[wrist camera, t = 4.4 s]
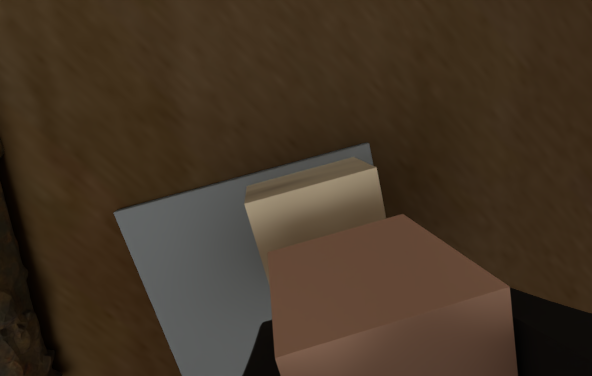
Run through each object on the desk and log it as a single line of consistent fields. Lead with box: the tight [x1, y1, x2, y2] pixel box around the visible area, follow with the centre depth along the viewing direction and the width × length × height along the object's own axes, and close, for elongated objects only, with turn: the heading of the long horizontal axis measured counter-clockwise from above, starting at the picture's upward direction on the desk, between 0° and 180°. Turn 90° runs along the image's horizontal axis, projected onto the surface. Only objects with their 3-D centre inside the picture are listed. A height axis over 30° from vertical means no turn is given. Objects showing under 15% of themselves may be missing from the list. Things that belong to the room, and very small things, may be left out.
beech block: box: [244, 157, 386, 286], centre depth 16 cm, size 6×6×4 cm
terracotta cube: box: [267, 214, 518, 376], centre depth 9 cm, size 4×4×4 cm
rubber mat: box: [114, 143, 373, 376], centre depth 19 cm, size 13×14×1 cm
